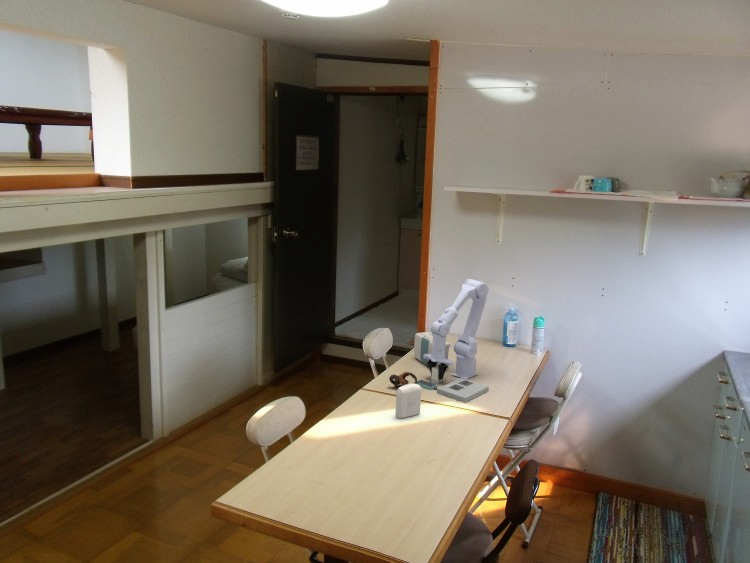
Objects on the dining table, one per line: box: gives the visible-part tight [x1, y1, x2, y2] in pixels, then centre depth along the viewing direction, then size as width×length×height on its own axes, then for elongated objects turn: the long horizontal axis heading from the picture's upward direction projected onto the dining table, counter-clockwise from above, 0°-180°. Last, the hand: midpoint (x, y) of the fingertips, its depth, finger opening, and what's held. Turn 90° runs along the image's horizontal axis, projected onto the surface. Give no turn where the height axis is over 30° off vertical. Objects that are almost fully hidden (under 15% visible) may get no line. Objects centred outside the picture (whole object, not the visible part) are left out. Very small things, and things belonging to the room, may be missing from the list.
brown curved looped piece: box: [388, 371, 418, 388], centre depth 261 cm, size 12×10×8 cm
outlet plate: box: [436, 377, 490, 404], centre depth 260 cm, size 18×14×2 cm
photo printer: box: [395, 383, 422, 419], centre depth 235 cm, size 10×4×12 cm, turn 123°
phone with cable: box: [417, 378, 439, 391], centre depth 265 cm, size 12×4×1 cm, turn 49°
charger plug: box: [430, 366, 444, 384], centre depth 271 cm, size 4×3×6 cm
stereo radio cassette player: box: [413, 331, 451, 367], centre depth 291 cm, size 21×8×20 cm, turn 25°
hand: (437, 377), depth 271 cm, fingers open, 4 cm apart
